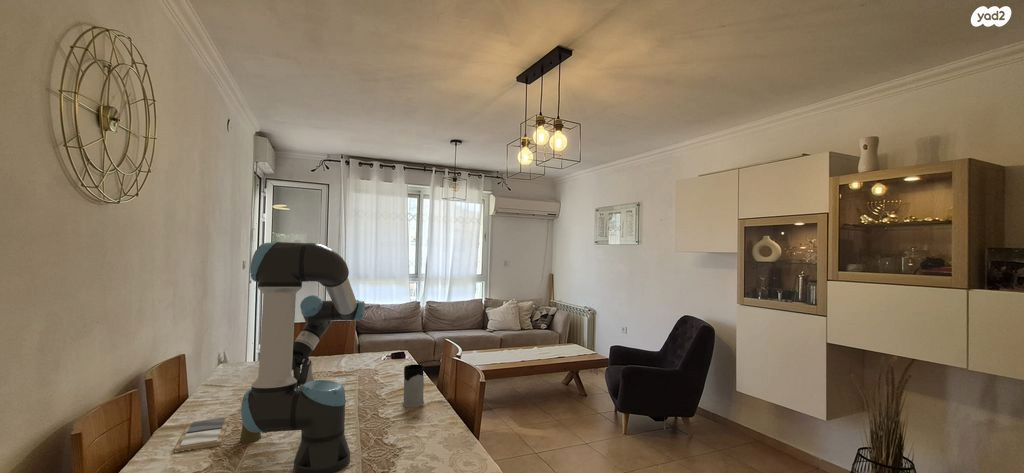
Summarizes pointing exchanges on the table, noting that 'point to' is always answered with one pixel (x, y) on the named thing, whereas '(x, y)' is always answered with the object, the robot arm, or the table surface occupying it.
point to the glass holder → (413, 386)
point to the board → (203, 434)
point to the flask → (309, 375)
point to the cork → (249, 436)
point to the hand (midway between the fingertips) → (267, 399)
